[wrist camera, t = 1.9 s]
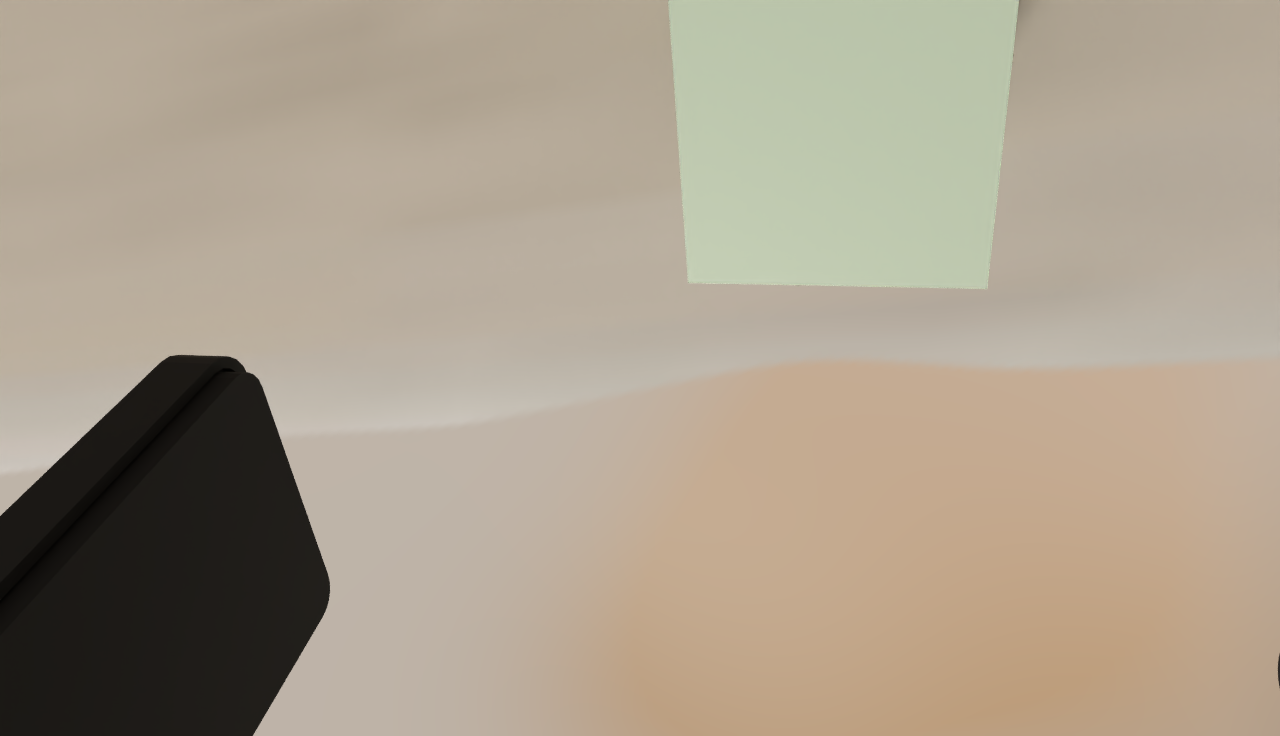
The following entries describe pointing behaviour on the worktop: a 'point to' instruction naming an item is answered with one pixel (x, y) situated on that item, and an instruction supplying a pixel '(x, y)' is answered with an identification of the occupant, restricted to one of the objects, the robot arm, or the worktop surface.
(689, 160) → the sage block
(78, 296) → the worktop surface
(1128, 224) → the worktop surface
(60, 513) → the robot arm
